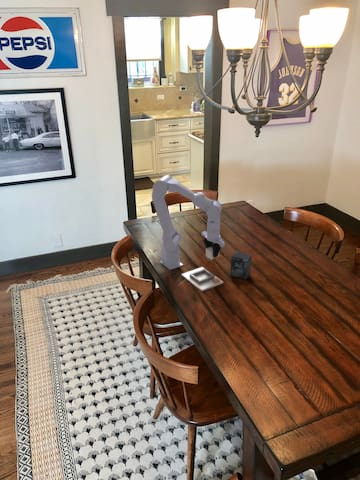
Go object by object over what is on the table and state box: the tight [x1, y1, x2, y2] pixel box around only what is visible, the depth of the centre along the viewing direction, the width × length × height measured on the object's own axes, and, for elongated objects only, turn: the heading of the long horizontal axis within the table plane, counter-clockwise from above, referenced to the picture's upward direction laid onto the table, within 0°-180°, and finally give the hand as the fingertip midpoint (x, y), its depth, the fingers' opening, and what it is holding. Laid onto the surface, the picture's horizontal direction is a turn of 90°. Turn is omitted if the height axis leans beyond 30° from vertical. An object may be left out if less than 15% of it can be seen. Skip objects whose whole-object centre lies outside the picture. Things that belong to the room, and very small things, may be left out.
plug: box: [205, 247, 221, 262], centre depth 172 cm, size 4×5×5 cm
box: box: [229, 251, 252, 280], centre depth 170 cm, size 8×6×11 cm
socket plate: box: [181, 266, 224, 292], centre depth 169 cm, size 16×12×2 cm
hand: (212, 254), depth 172 cm, fingers closed on plug, 4 cm apart
